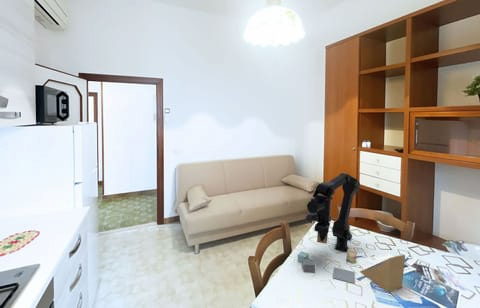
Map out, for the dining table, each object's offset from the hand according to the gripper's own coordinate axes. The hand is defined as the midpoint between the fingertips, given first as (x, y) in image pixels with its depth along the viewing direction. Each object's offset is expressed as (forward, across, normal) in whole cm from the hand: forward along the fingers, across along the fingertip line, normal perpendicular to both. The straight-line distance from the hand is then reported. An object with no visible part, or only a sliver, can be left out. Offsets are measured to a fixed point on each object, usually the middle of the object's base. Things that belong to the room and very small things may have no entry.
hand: (322, 239), depth 126 cm
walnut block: (+1, 0, 0) cm, 1 cm away
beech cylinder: (+11, -5, +14) cm, 18 cm away
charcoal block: (+11, +12, -5) cm, 17 cm away
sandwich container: (+11, +6, +26) cm, 28 cm away
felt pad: (+11, +10, +11) cm, 18 cm away
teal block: (+11, +6, -8) cm, 15 cm away
